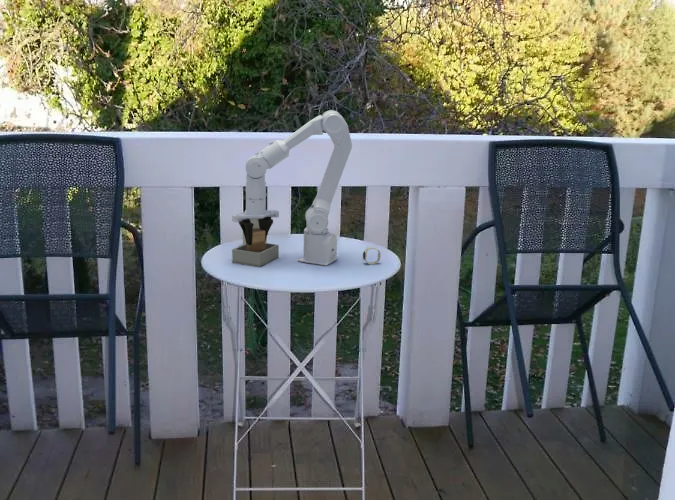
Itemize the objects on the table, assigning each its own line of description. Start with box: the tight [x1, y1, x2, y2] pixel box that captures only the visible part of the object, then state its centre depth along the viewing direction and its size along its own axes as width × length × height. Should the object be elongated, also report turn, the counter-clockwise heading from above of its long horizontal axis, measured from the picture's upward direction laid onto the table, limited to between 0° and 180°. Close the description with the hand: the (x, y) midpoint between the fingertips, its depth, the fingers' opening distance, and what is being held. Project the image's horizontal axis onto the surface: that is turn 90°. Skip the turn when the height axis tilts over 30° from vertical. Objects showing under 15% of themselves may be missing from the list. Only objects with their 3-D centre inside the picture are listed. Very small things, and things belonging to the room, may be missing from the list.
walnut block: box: [247, 228, 265, 252], centre depth 213 cm, size 4×4×6 cm
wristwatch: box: [362, 246, 381, 265], centre depth 214 cm, size 3×5×5 cm, turn 104°
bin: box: [231, 242, 280, 268], centre depth 215 cm, size 9×11×4 cm
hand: (255, 243), depth 214 cm, fingers closed on walnut block, 4 cm apart
